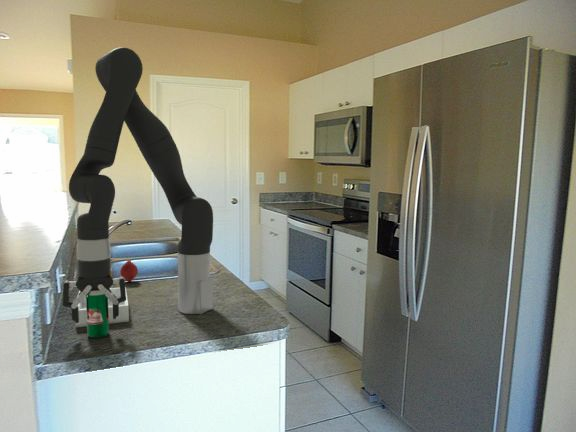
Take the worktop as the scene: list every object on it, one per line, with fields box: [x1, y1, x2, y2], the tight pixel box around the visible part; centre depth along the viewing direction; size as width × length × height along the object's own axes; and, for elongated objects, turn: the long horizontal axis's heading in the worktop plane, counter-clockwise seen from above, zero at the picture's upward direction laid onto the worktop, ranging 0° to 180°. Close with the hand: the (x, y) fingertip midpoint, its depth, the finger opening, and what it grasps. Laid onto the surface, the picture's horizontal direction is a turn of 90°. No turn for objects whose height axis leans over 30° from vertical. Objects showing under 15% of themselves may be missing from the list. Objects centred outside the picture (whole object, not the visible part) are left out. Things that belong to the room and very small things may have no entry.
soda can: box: [86, 290, 110, 339], centre depth 111 cm, size 5×5×12 cm
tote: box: [75, 286, 130, 328], centre depth 127 cm, size 13×18×4 cm
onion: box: [119, 259, 139, 282], centre depth 158 cm, size 6×6×8 cm
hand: (95, 320), depth 111 cm, fingers open, 8 cm apart
